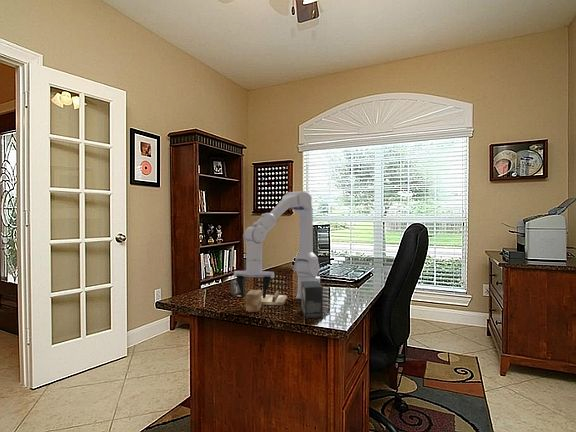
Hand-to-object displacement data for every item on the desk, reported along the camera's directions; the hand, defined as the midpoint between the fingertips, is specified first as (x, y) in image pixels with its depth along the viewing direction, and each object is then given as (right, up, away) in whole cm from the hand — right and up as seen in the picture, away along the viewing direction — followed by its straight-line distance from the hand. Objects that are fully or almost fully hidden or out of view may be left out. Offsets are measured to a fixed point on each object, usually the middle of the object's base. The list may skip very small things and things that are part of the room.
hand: (253, 297), depth 125 cm
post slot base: (+4, -4, +12) cm, 13 cm away
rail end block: (0, -4, 0) cm, 4 cm away
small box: (+21, -5, -6) cm, 22 cm away
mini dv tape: (-9, -4, +25) cm, 27 cm away
